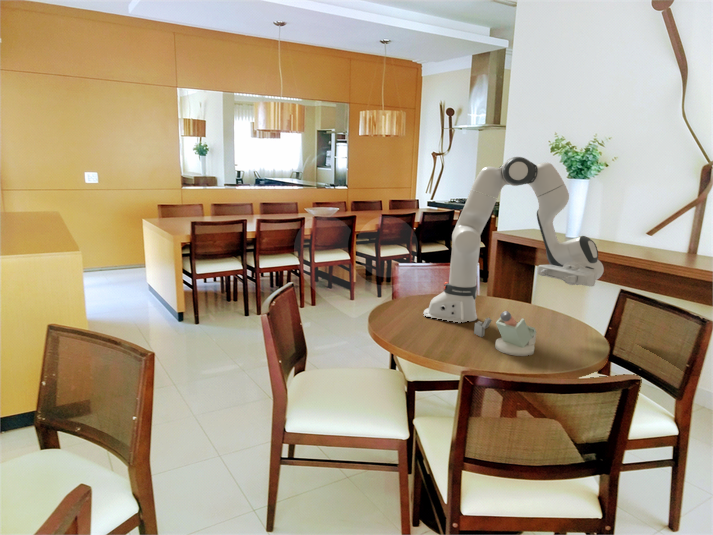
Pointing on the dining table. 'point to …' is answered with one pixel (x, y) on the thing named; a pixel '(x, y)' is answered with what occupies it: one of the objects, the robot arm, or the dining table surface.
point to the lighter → (481, 327)
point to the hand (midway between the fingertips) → (553, 276)
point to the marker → (508, 318)
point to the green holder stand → (516, 338)
